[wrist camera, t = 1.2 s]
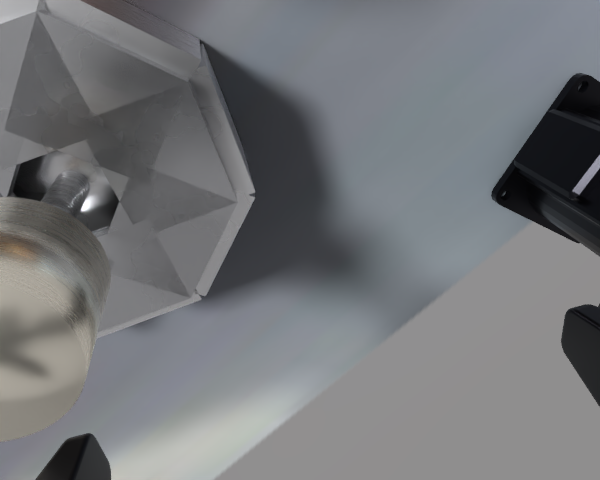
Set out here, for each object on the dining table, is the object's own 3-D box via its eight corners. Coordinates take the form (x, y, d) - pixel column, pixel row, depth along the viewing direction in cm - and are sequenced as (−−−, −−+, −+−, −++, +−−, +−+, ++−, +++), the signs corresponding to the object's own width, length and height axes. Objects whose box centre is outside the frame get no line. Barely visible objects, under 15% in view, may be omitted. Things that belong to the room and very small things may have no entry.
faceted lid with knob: (275, 77, 19) (304, 113, 14) (159, 323, 23) (150, 414, 19) (-22, -74, 15) (-122, -96, 10) (-95, 254, 20) (-189, 346, 15)
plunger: (235, 121, 16) (273, 256, 8) (151, 303, 18) (123, 533, 11) (-30, 0, 13) (-340, 37, 5) (-84, 236, 16) (-341, 482, 8)
